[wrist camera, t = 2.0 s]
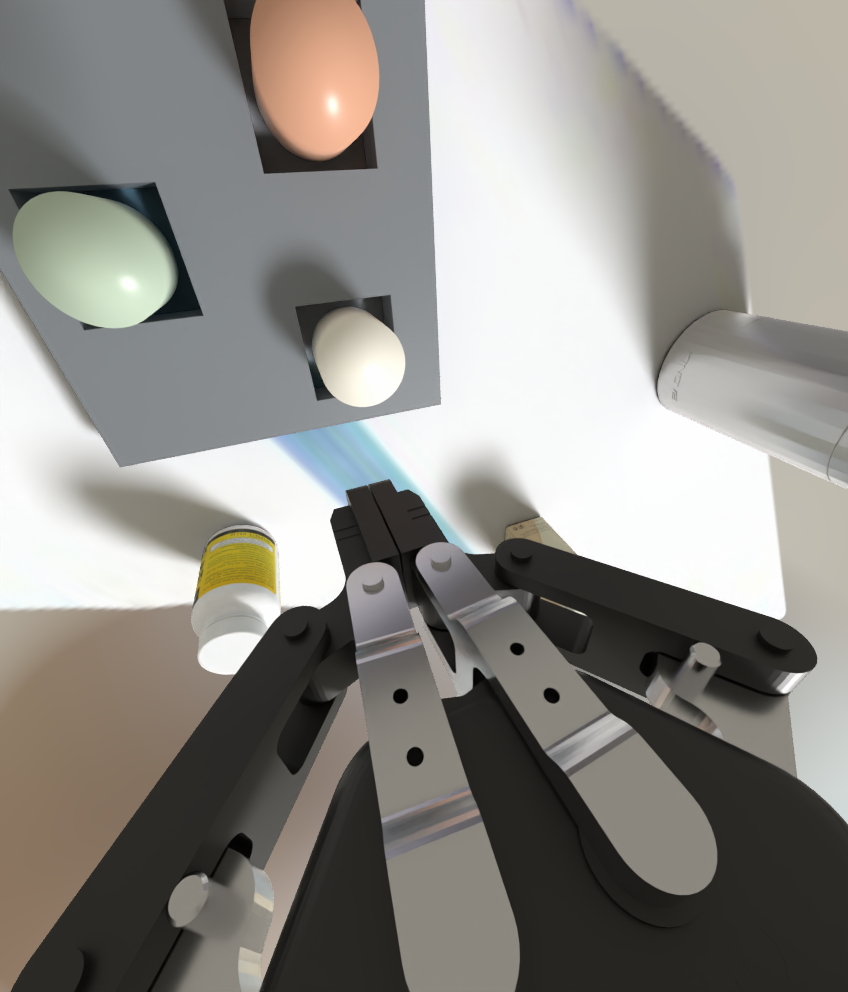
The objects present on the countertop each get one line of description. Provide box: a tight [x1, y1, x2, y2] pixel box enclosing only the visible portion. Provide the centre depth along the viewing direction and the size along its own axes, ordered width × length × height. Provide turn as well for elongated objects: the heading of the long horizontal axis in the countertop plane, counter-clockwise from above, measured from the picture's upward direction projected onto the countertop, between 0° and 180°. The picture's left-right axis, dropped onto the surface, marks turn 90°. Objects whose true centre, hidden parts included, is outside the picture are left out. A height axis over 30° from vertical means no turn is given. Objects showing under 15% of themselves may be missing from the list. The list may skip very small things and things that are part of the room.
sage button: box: [12, 191, 178, 328], centre depth 17 cm, size 5×5×4 cm
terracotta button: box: [250, 0, 379, 162], centre depth 16 cm, size 5×5×4 cm
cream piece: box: [312, 306, 405, 407], centre depth 22 cm, size 5×5×4 cm
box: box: [505, 517, 587, 616], centre depth 38 cm, size 5×4×11 cm
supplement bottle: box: [191, 525, 281, 674], centre depth 27 cm, size 5×5×10 cm
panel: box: [0, 0, 441, 467], centre depth 20 cm, size 20×20×2 cm
